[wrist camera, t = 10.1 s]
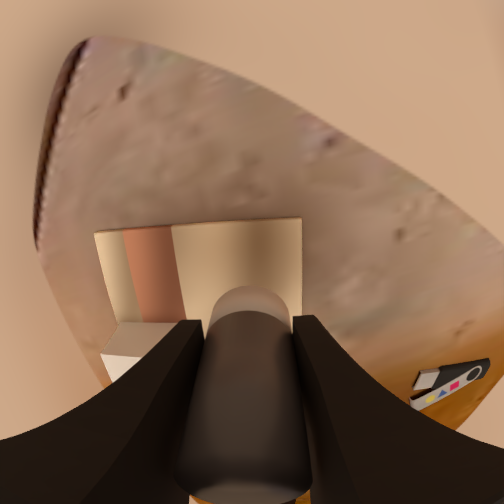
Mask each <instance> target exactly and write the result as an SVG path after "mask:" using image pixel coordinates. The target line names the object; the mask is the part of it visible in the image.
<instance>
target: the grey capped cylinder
mask: <svg viewBox="0 0 504 504" xmlns="http://www.w3.org/2000/svg"><path fill="white" fill-rule="evenodd" d="M174 480H175V481H176V483H177V484H178V486H179V487H181V488H182V489H183V490H184V491H186V492H187V493H189V494H191V495H192V496H195V497H197V498H199V499H202V500H204V501H208V502H211V503H215V504H281V503H285V502H288V501H291V500H293V499H296V498H298V497H299V496H301V495H303V494H304V493H306V492H307V491H308V490H309V489H310V487H311V486H312V483H313V477H312V469H311V461H310V453H309V445H308V438H307V430H306V423H305V415H304V408H303V401H302V394H301V387H300V380H299V374H298V367H297V361H296V356H295V349H294V343H293V336H292V328H291V322H290V316H289V311H288V308H287V306H286V304H285V302H284V301H283V300H282V299H281V298H280V297H279V296H278V295H277V294H276V293H274V292H273V291H271V290H269V289H266V288H263V287H259V286H240V287H236V288H234V289H231V290H229V291H227V292H226V293H224V294H223V295H222V296H221V297H220V298H219V299H218V300H217V301H216V303H215V305H214V307H213V310H212V314H211V318H210V322H209V326H208V330H207V334H206V338H205V342H204V346H203V350H202V354H201V358H200V362H199V366H198V370H197V374H196V378H195V382H194V387H193V391H192V395H191V399H190V404H189V408H188V412H187V416H186V421H185V425H184V429H183V434H182V438H181V443H180V447H179V452H178V456H177V461H176V465H175V470H174Z"/></svg>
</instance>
